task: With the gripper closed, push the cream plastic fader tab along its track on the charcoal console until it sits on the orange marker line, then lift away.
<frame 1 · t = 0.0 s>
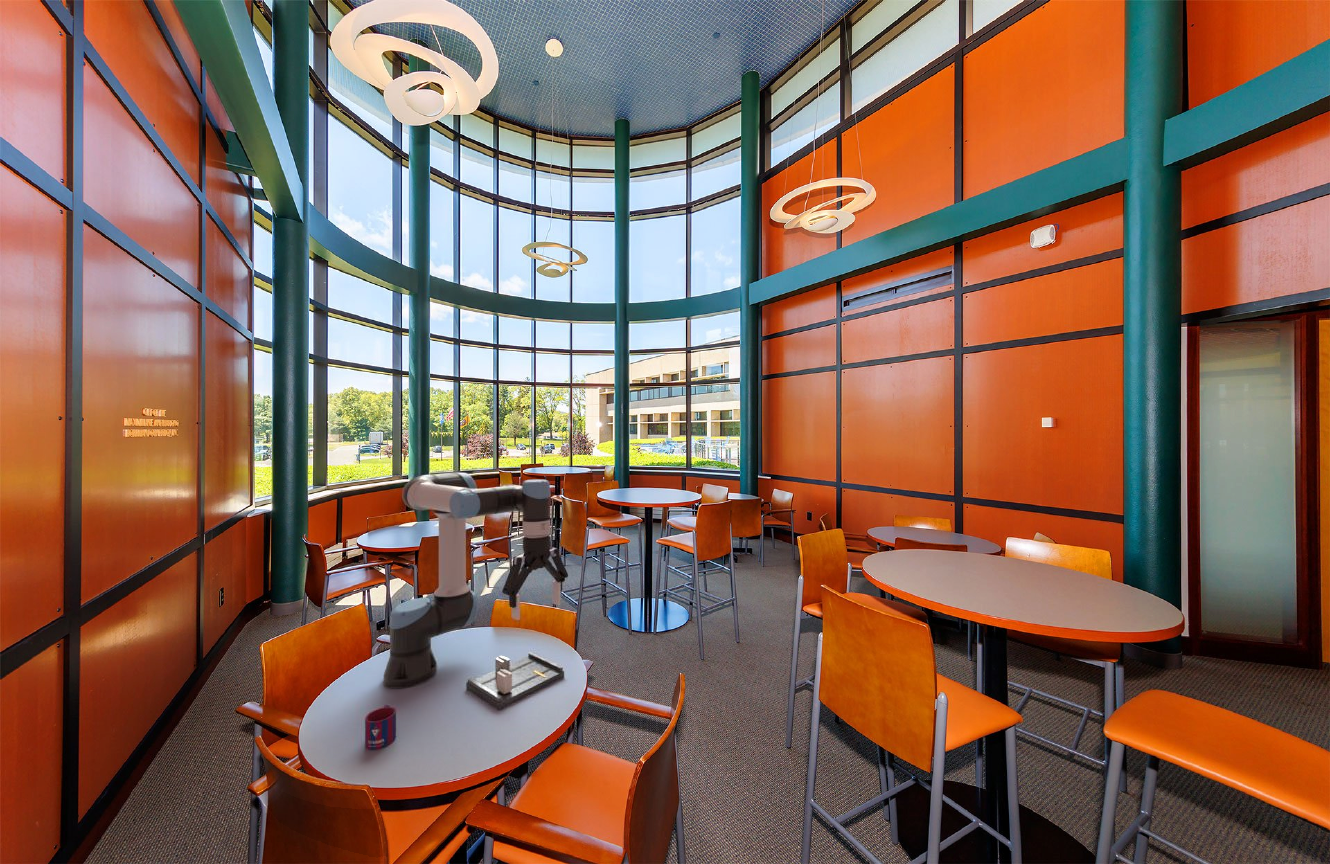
hand: (537, 611, 130), 28 cm above the table, fingers open, 13 cm apart
mug: (383, 737, 119), on the table
console: (516, 683, 145), on the table
fader tab: (504, 680, 136), point 5 cm above the table, slide at -7.0 cm
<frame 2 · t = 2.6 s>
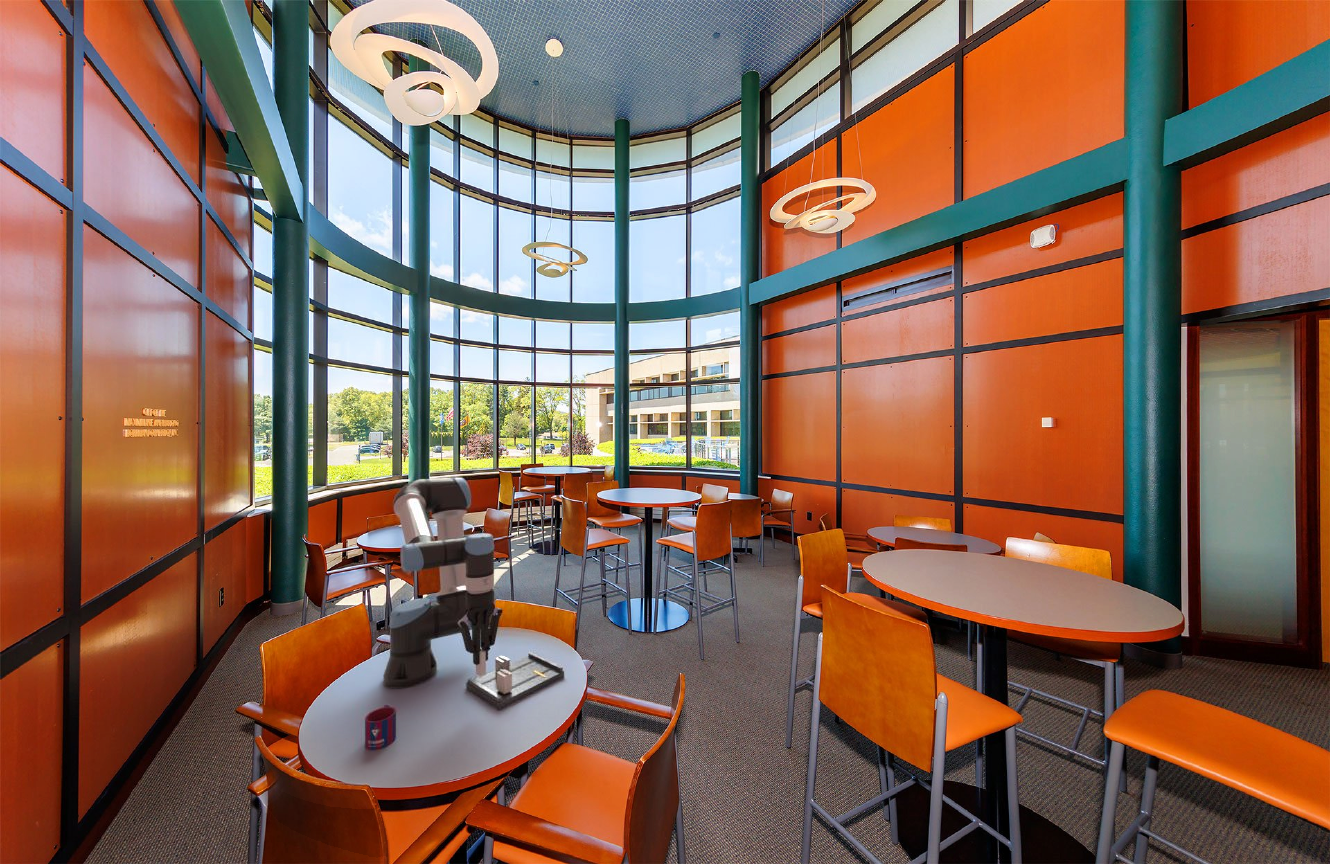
hand: (480, 673, 130), 10 cm above the table, fingers closed
nothing on the table moved.
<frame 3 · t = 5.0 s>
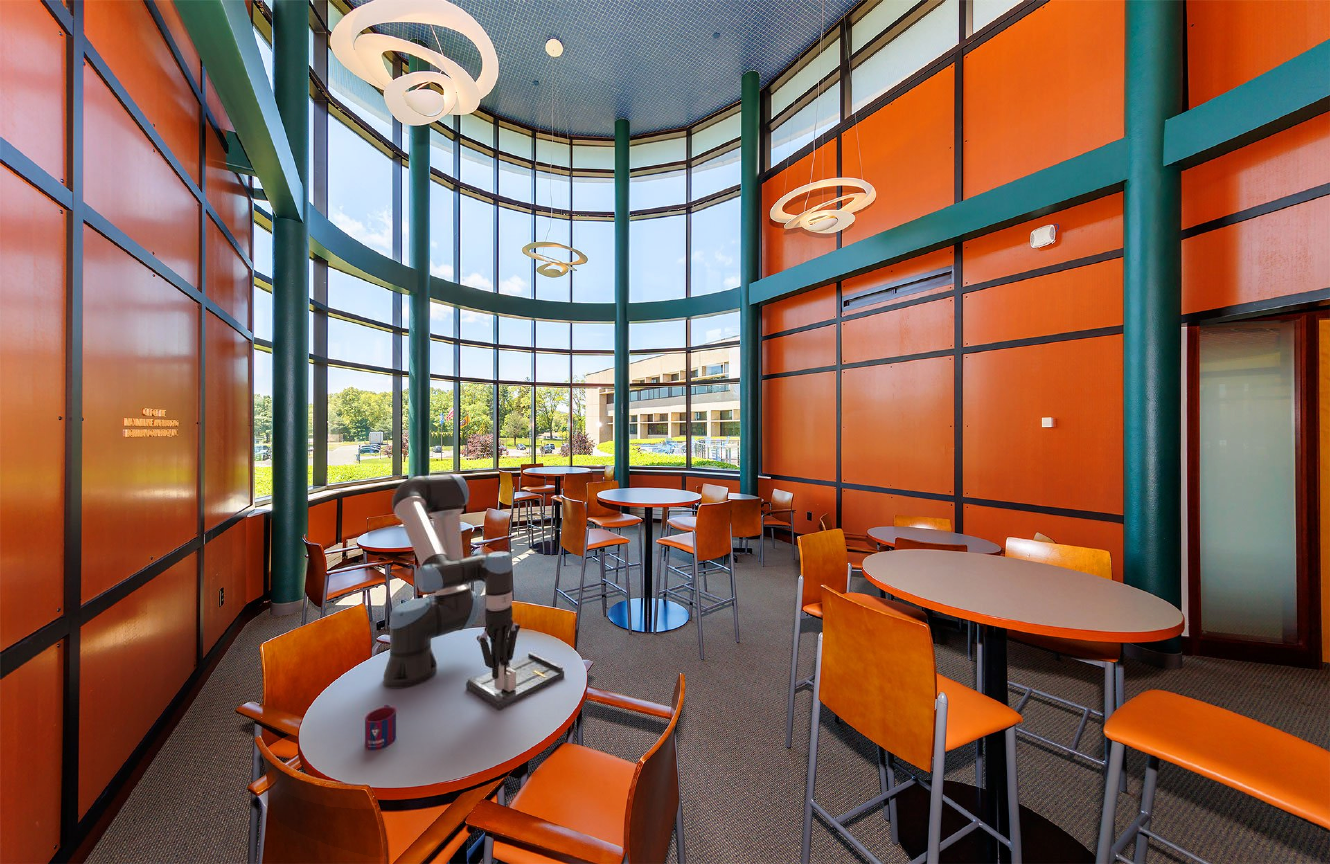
hand: (499, 687, 135), 4 cm above the table, fingers closed
fader tab: (508, 678, 138), point 5 cm above the table, slide at -5.6 cm, touching gripper
everything else where it was.
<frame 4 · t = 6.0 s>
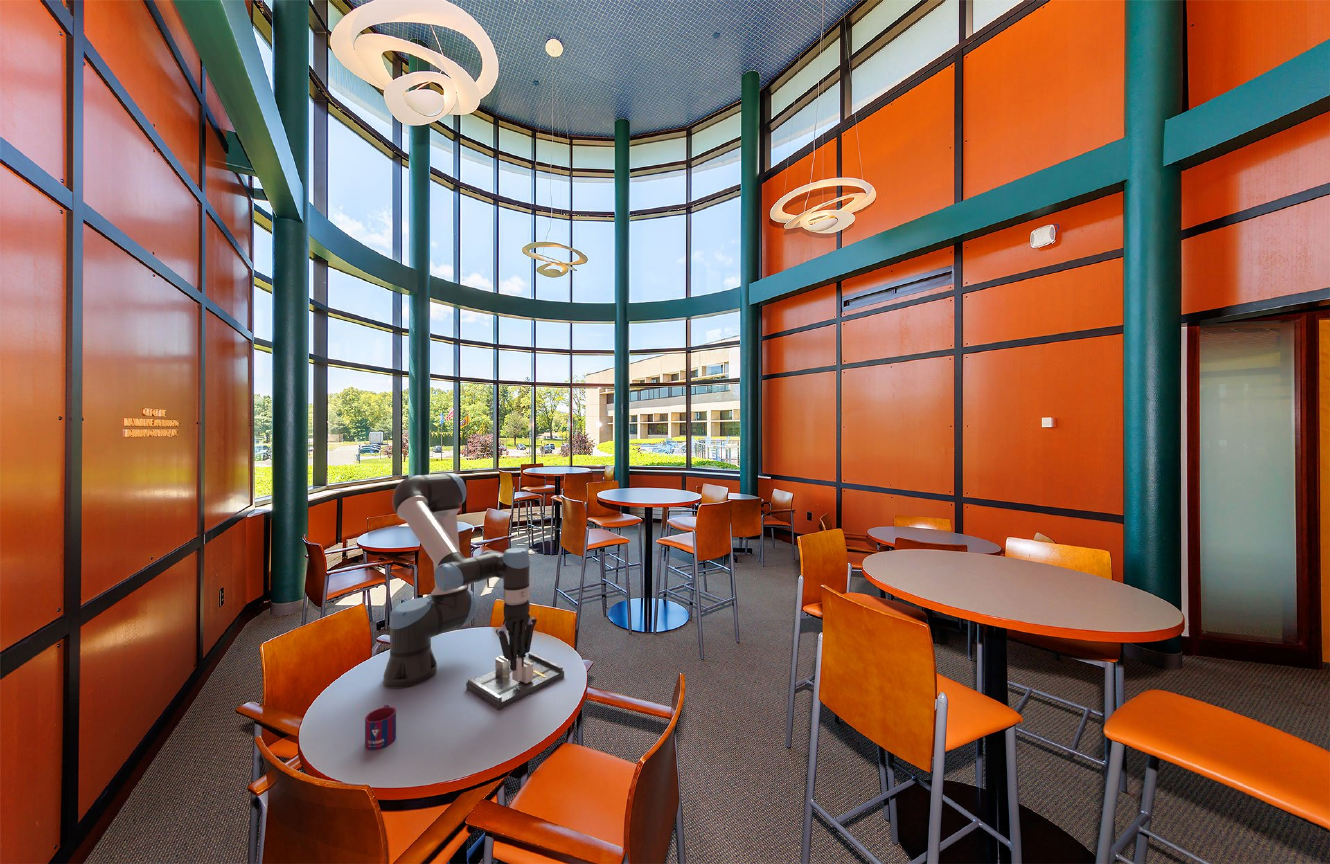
hand: (517, 679, 140), 4 cm above the table, fingers closed
fader tab: (525, 670, 142), point 5 cm above the table, slide at 0.3 cm, touching gripper
everything else where it was.
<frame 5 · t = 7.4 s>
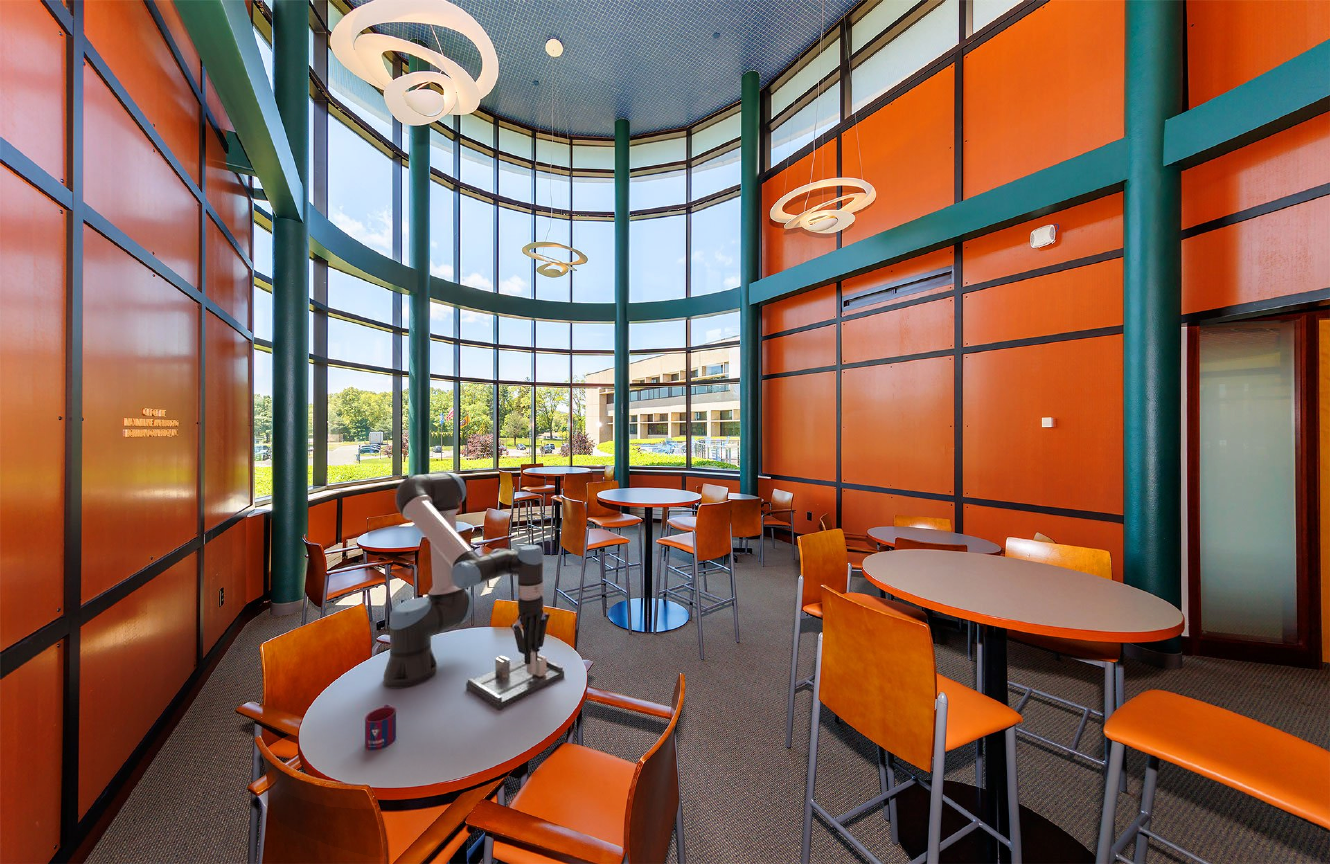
hand: (531, 672, 144), 4 cm above the table, fingers closed
fader tab: (539, 664, 146), point 5 cm above the table, slide at 5.3 cm, touching gripper
everything else where it was.
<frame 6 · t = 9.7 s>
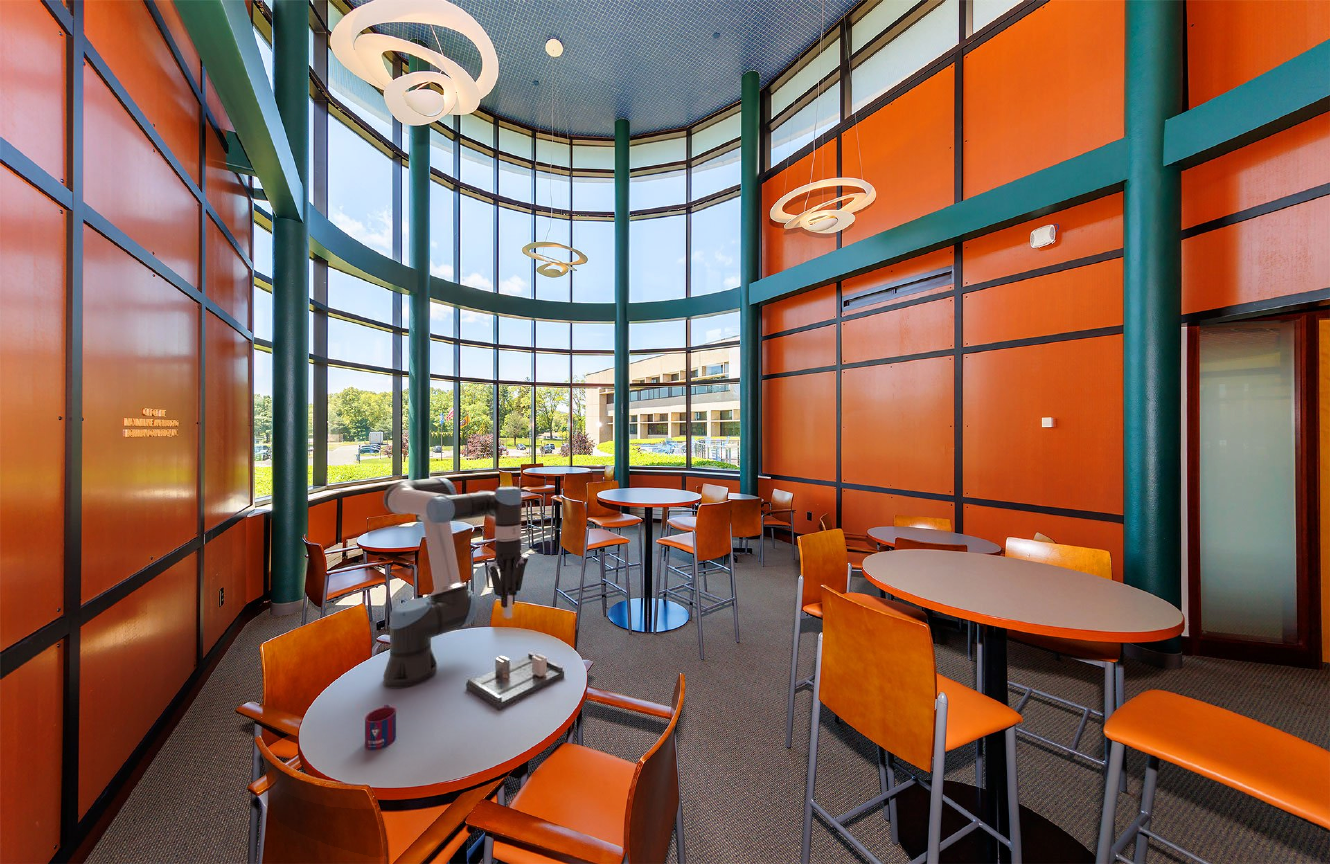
hand: (507, 616, 140), 23 cm above the table, fingers closed
fader tab: (539, 664, 146), point 5 cm above the table, slide at 5.4 cm
everything else where it was.
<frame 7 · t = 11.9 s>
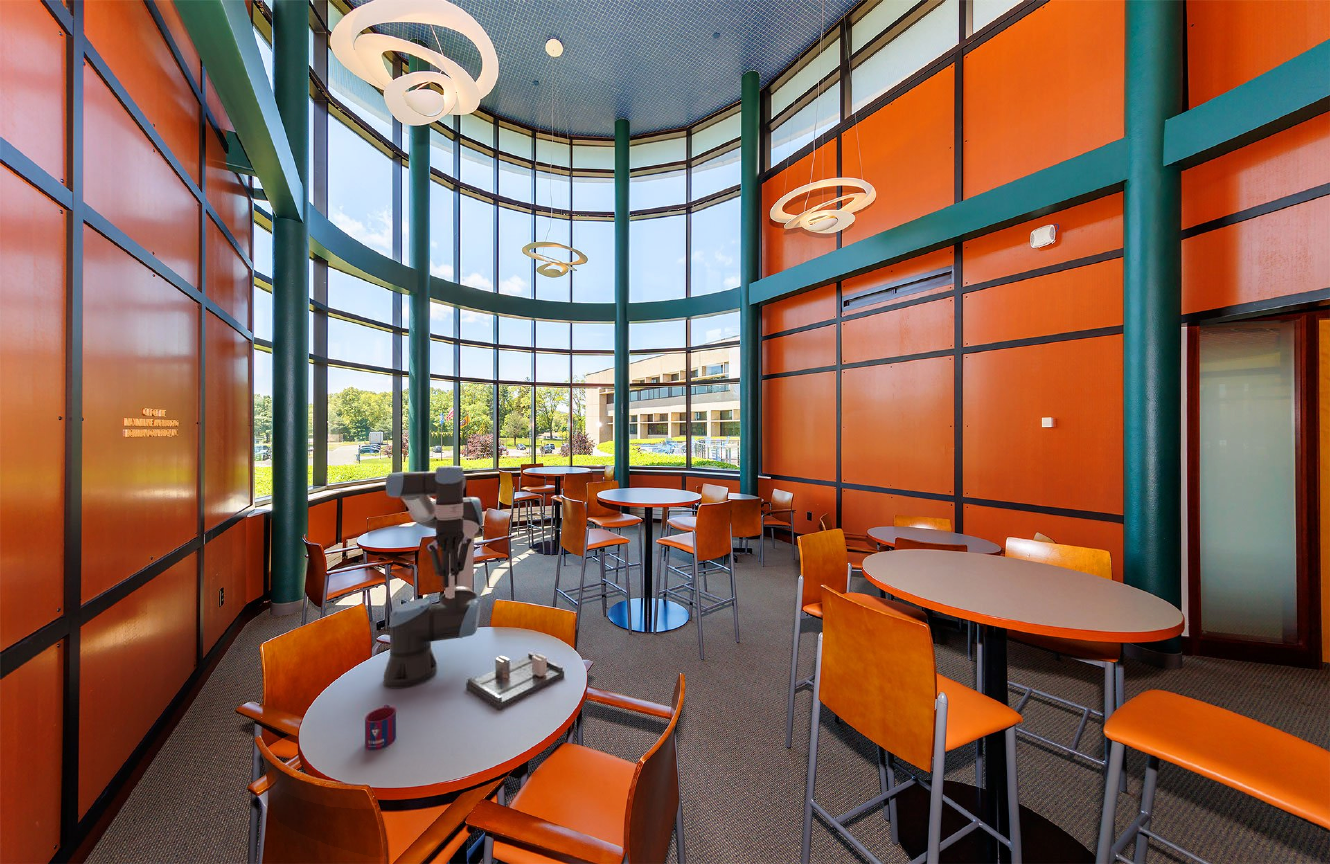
hand: (449, 597, 138), 29 cm above the table, fingers closed
nothing on the table moved.
at the end: fader tab slide at 5.4 cm; the gripper is holding nothing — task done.
